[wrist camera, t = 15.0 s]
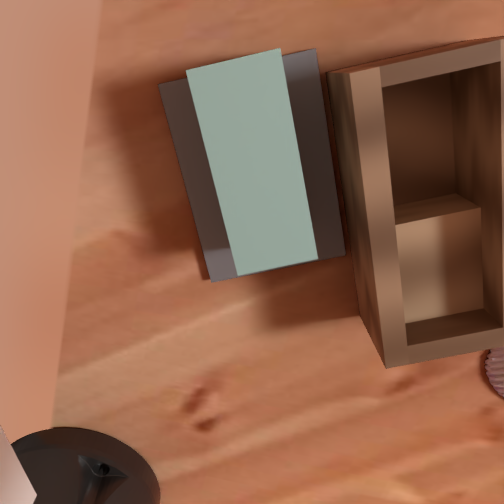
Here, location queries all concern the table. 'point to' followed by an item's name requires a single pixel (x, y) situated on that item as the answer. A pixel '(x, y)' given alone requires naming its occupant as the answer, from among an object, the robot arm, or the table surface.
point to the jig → (425, 197)
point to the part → (254, 160)
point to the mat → (311, 156)
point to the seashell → (496, 369)
